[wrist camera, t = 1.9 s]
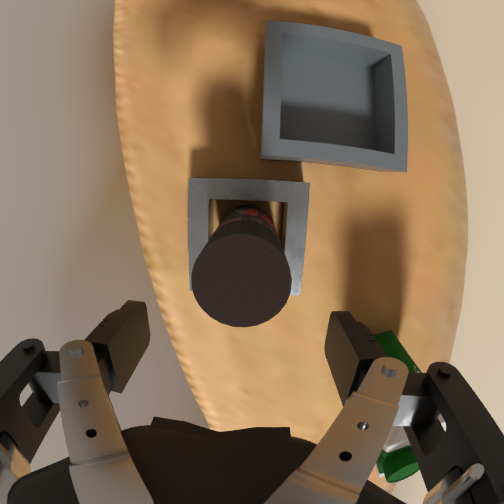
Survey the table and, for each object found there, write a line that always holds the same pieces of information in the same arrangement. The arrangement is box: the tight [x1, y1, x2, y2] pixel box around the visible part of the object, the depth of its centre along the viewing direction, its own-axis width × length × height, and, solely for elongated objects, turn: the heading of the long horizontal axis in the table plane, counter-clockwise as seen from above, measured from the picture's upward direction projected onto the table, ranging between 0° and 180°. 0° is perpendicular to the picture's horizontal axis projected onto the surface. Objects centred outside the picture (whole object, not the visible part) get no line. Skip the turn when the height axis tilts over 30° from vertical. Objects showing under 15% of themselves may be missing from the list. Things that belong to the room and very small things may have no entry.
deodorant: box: [191, 205, 292, 327], centre depth 23 cm, size 6×6×15 cm
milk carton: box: [374, 331, 446, 483], centre depth 26 cm, size 9×9×20 cm
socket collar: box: [188, 178, 310, 295], centre depth 29 cm, size 12×12×4 cm
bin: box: [260, 20, 408, 172], centre depth 24 cm, size 14×14×6 cm
